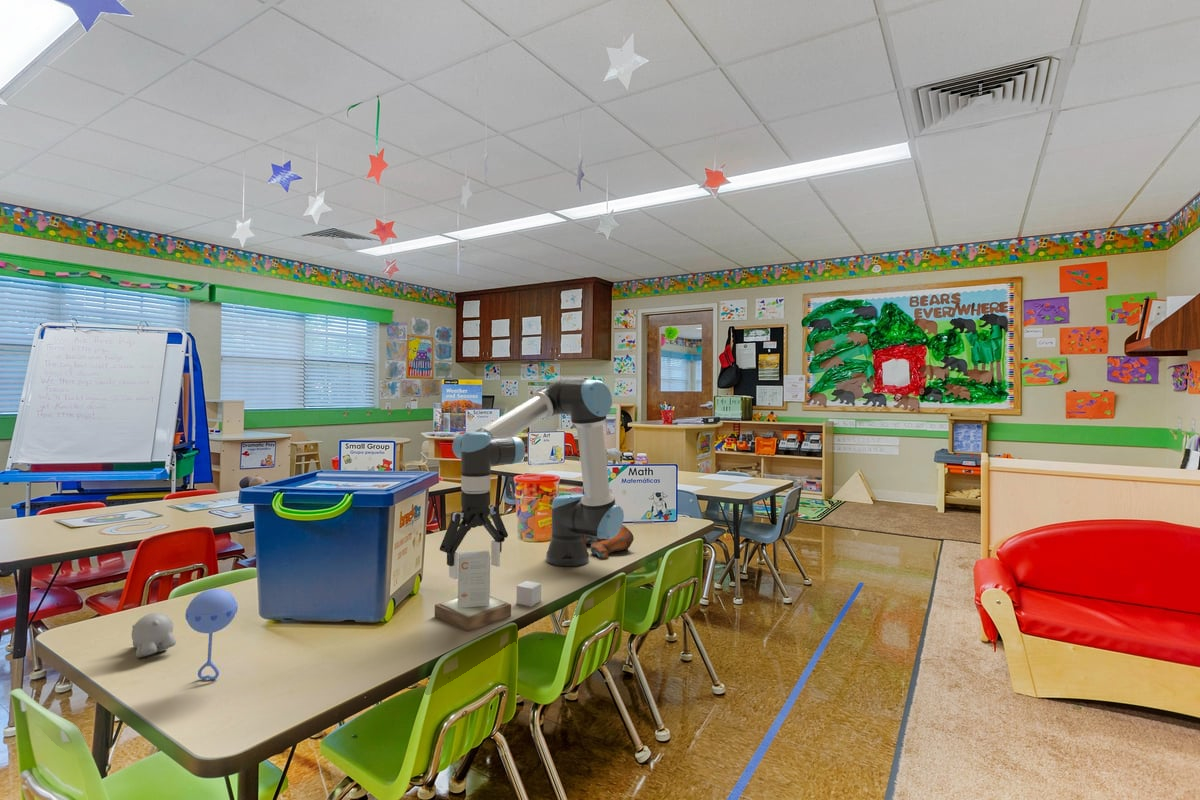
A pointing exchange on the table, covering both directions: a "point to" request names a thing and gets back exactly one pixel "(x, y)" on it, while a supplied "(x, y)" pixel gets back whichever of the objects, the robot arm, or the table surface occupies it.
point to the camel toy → (610, 543)
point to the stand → (472, 613)
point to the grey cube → (528, 593)
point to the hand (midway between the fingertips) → (475, 571)
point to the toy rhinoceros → (152, 634)
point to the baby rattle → (211, 618)
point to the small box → (473, 579)
